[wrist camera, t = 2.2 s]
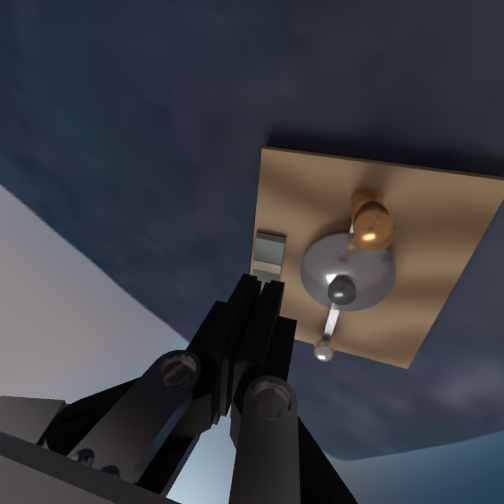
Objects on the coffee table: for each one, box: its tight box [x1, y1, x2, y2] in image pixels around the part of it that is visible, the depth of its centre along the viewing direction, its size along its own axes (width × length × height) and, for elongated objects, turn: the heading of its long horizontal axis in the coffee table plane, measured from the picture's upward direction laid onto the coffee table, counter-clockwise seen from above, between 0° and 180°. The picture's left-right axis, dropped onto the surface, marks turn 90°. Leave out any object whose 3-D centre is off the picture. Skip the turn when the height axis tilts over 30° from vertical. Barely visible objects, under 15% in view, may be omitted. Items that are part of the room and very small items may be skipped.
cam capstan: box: [300, 188, 397, 361], centre depth 23 cm, size 18×8×6 cm, turn 176°
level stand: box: [250, 146, 504, 369], centre depth 26 cm, size 20×18×2 cm
